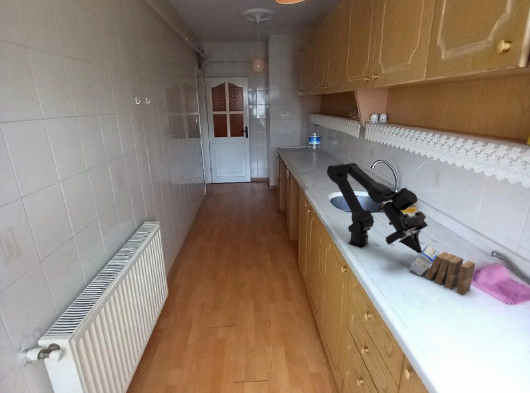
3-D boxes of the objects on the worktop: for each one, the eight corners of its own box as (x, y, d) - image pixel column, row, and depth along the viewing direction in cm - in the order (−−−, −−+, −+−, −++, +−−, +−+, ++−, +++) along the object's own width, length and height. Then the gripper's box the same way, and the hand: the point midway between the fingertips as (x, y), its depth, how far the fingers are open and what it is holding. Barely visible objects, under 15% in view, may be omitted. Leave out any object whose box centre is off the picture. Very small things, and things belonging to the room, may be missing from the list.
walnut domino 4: (455, 292, 97) (460, 265, 94) (463, 286, 100) (468, 260, 97) (462, 295, 95) (467, 268, 92) (470, 289, 98) (475, 263, 95)
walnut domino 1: (424, 276, 105) (436, 255, 100) (432, 271, 108) (444, 251, 103) (430, 280, 104) (442, 259, 99) (437, 275, 106) (450, 255, 101)
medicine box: (414, 259, 114) (427, 243, 109) (425, 267, 112) (439, 251, 107) (408, 268, 108) (422, 252, 103) (420, 276, 106) (434, 260, 102)
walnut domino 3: (444, 287, 100) (449, 260, 97) (452, 281, 102) (456, 256, 99) (451, 290, 98) (456, 263, 95) (458, 284, 101) (463, 258, 98)
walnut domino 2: (434, 281, 103) (442, 257, 98) (442, 276, 105) (450, 253, 101) (440, 285, 101) (449, 261, 97) (447, 280, 104) (456, 256, 99)
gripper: (395, 211, 102) (423, 252, 97) (425, 200, 112) (452, 237, 106) (374, 225, 111) (399, 263, 105) (404, 214, 120) (428, 248, 115)
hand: (420, 252), depth 108 cm, fingers closed
